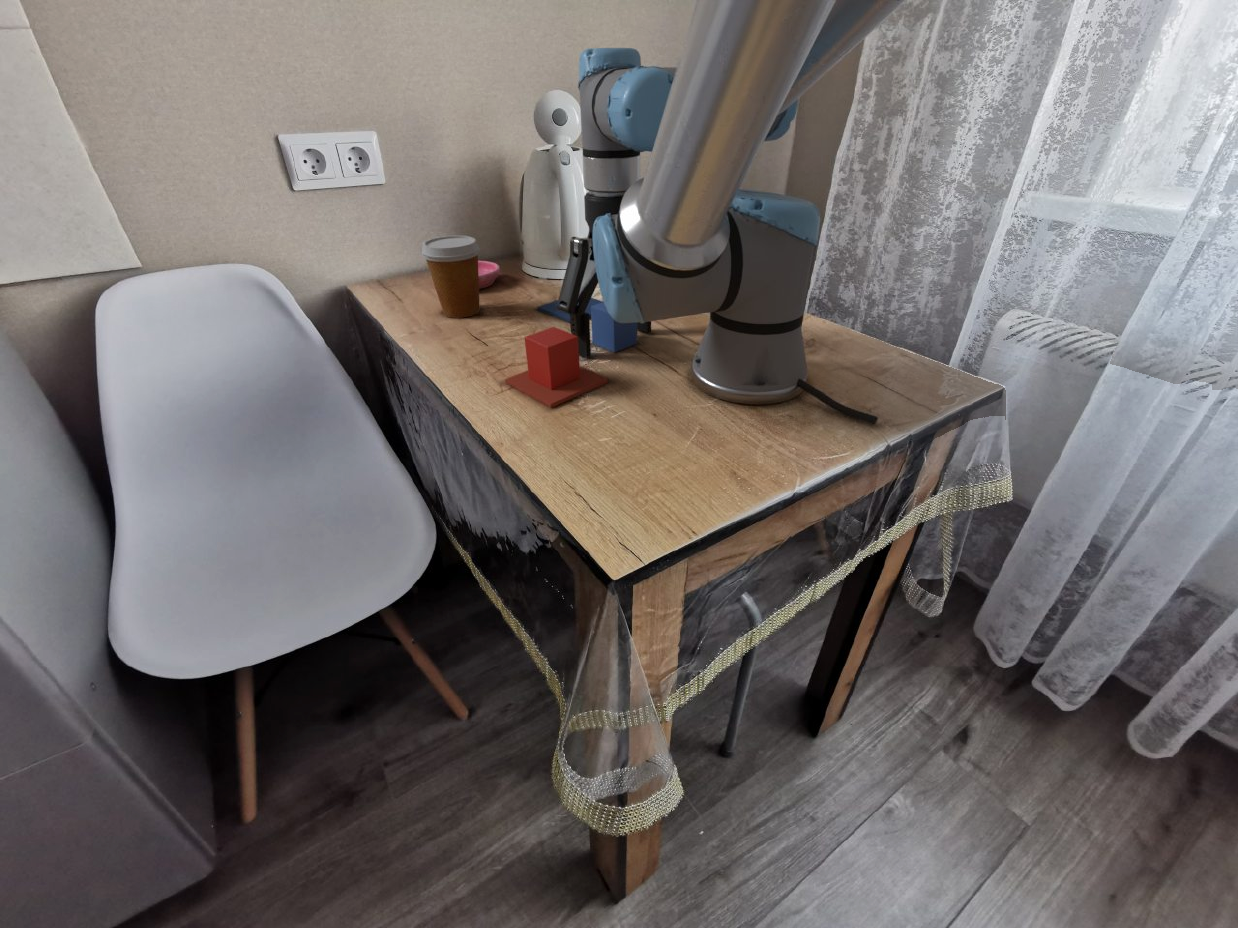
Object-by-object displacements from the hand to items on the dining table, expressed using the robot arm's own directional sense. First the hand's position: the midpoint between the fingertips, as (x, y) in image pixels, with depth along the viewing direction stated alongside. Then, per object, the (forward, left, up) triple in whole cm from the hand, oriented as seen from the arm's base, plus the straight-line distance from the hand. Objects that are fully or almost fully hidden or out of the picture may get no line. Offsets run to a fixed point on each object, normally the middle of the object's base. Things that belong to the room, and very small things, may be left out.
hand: (614, 342), depth 87 cm
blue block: (0, 0, 0) cm, 0 cm away
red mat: (-4, +15, 0) cm, 16 cm away
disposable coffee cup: (+30, +9, 0) cm, 31 cm away
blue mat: (+16, -6, 0) cm, 17 cm away
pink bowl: (+43, -1, 0) cm, 43 cm away
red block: (-4, +15, 0) cm, 16 cm away
